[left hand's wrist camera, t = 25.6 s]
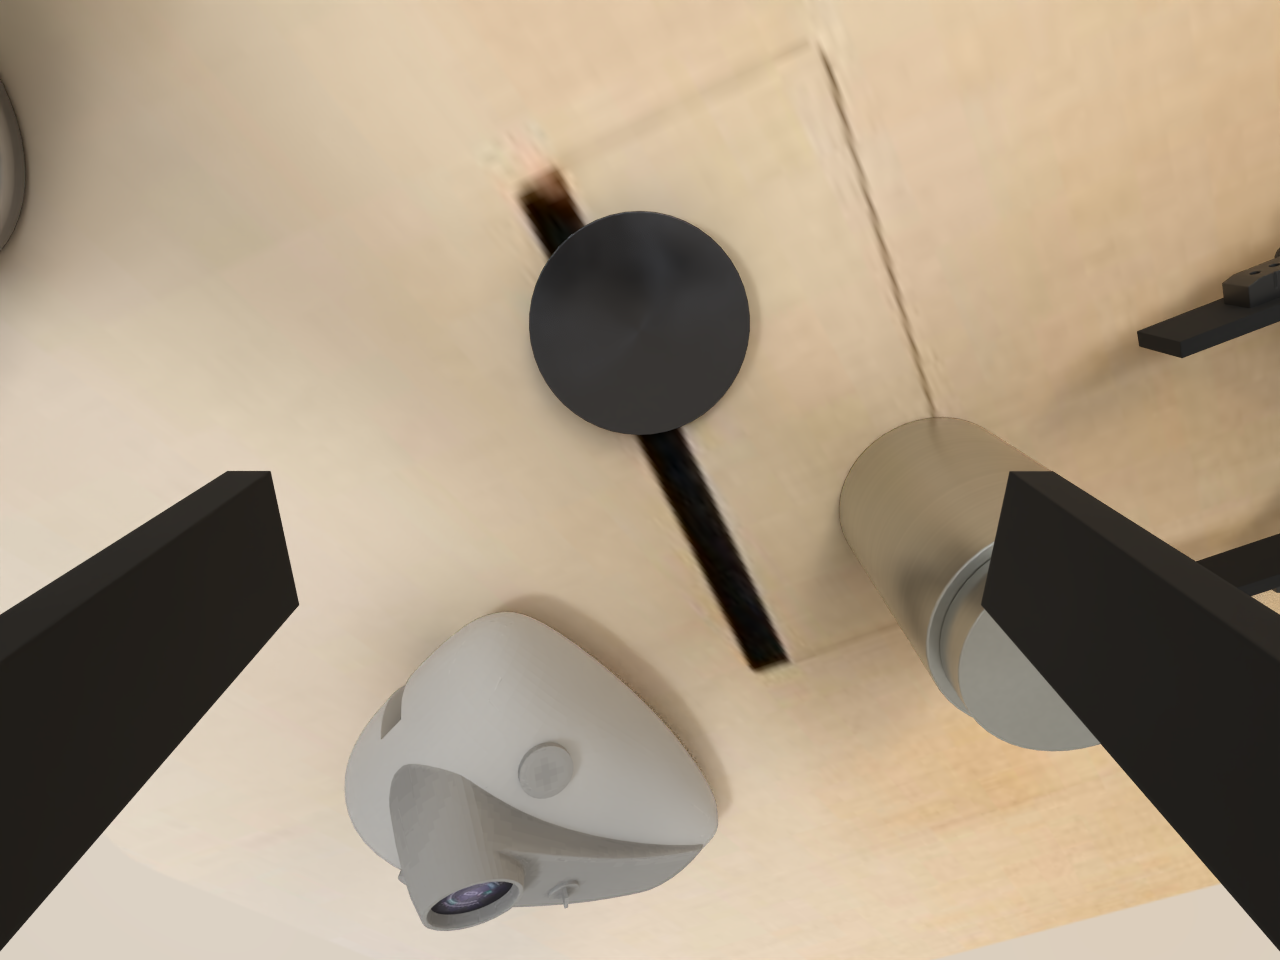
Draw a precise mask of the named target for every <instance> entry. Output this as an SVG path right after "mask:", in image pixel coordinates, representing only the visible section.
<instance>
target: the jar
mask: <svg viewBox="0 0 1280 960" xmlns="http://www.w3.org/2000/svg"><path fill="white" fill-rule="evenodd" d="M1009 471H1051V470H1049V469H1047V468H1046V467H1044V466H1043V465H1041V464H1040V463H1038V462H1036V461H1035V460H1033V459H1032V458H1030V457H1028V456H1027V455H1025V454H1024V453H1022V452H1021V451H1019V450H1017V449H1016V448H1014V447H1013V446H1011V445H1010V444H1008V443H1006V442H1005V441H1003V440H1002V439H1000V438H999V437H997V436H995V435H994V434H992V433H991V432H989V431H987V430H986V429H984V428H982V427H980V426H978V425H977V424H974V423H971V422H968V421H965V420H961V419H956V418H945V417H939V418H927V419H922V420H917V421H914V422H910V423H907V424H904V425H902V426H900V427H897V428H895V429H893V430H891V431H890V432H888V433H886V434H884V435H883V436H882V437H880V438H879V439H877V440H876V441H875V442H874V443H872V444H871V445H870V446H869V447H868V448H867V449H866V450H865V451H864V452H863V453H862V455H861V456H860V457H859V458H858V459H857V461H856V462H855V464H854V465H853V467H852V468H851V470H850V472H849V474H848V476H847V478H846V480H845V483H844V486H843V489H842V492H841V497H840V506H839V515H840V523H841V527H842V531H843V534H844V536H845V539H846V541H847V542H848V544H849V546H850V547H851V549H852V551H853V552H854V554H855V555H856V557H857V559H858V560H859V562H860V563H861V565H862V567H863V568H864V570H865V571H866V573H867V575H868V576H869V578H870V579H871V581H872V583H873V584H874V586H875V587H876V589H877V591H878V592H879V594H880V595H881V597H882V599H883V600H884V602H885V603H886V605H887V607H888V608H889V610H890V611H891V613H892V615H893V616H894V618H895V620H896V621H897V623H898V624H899V626H900V628H901V629H902V631H903V632H904V634H905V636H906V637H907V639H908V640H909V642H910V644H911V645H912V647H913V648H914V650H915V652H916V653H917V655H918V656H919V658H920V660H921V661H922V663H923V664H924V666H925V668H926V669H927V671H928V672H929V674H930V676H931V677H932V679H933V680H934V682H935V684H936V685H937V687H938V688H939V690H940V691H941V692H942V694H943V695H944V696H945V697H946V698H947V700H948V701H950V702H951V703H952V704H953V705H954V706H955V707H957V708H958V709H959V710H961V711H963V712H964V713H966V714H967V715H969V716H971V717H973V718H974V719H975V720H976V722H977V723H978V724H979V725H980V726H982V727H983V728H984V729H985V730H986V731H987V732H989V733H991V734H992V735H994V736H995V737H997V738H999V739H1001V740H1003V741H1005V742H1008V743H1010V744H1013V745H1016V746H1019V747H1023V748H1027V749H1033V750H1041V751H1068V750H1075V749H1082V748H1086V747H1091V746H1095V745H1099V744H1100V742H1099V741H1098V740H1097V739H1096V738H1095V737H1094V735H1093V734H1092V733H1091V732H1090V731H1089V730H1088V728H1087V727H1086V726H1085V725H1084V724H1083V723H1082V722H1081V720H1080V719H1079V718H1078V717H1077V716H1076V715H1075V713H1074V712H1073V711H1072V710H1071V709H1070V708H1069V706H1068V705H1067V704H1066V703H1065V702H1064V701H1063V700H1062V698H1061V697H1060V696H1059V695H1058V694H1057V693H1056V691H1055V690H1054V689H1053V688H1052V687H1051V686H1050V684H1049V683H1048V682H1047V681H1046V680H1045V679H1044V678H1043V676H1042V675H1041V674H1040V673H1039V672H1038V671H1037V669H1036V668H1035V667H1034V666H1033V665H1032V664H1031V662H1030V661H1029V660H1028V659H1027V658H1026V657H1025V655H1024V654H1023V653H1022V652H1021V651H1020V650H1019V649H1018V647H1017V646H1016V645H1015V644H1014V643H1013V642H1012V640H1011V639H1010V638H1009V637H1008V636H1007V635H1006V633H1005V632H1004V631H1003V630H1002V629H1001V628H1000V627H999V625H998V624H997V623H996V622H995V621H994V620H993V618H992V617H991V616H990V615H989V614H988V613H987V611H986V610H985V609H984V608H983V607H982V606H981V602H982V597H983V592H984V588H985V583H986V578H987V574H988V569H989V564H990V560H991V555H992V550H993V546H994V541H995V536H996V532H997V527H998V522H999V518H1000V513H1001V508H1002V504H1003V499H1004V494H1005V490H1006V485H1007V480H1008V476H1009Z"/></svg>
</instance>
